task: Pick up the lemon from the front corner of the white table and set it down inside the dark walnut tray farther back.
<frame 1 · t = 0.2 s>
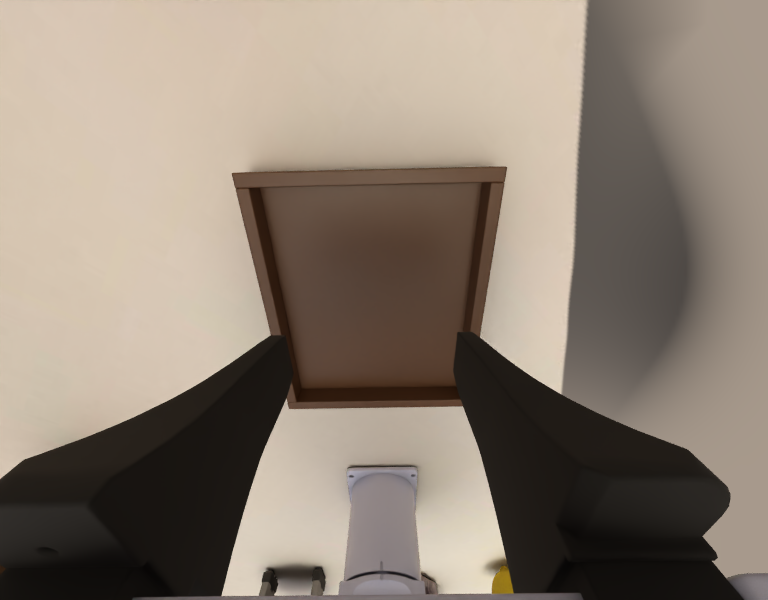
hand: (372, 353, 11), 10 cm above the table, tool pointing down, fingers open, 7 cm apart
crystal cluster: (398, 584, 45), on the table
lemon: (502, 563, 42), on the table
figurine: (299, 577, 44), on the table
tray: (375, 299, 22), on the table
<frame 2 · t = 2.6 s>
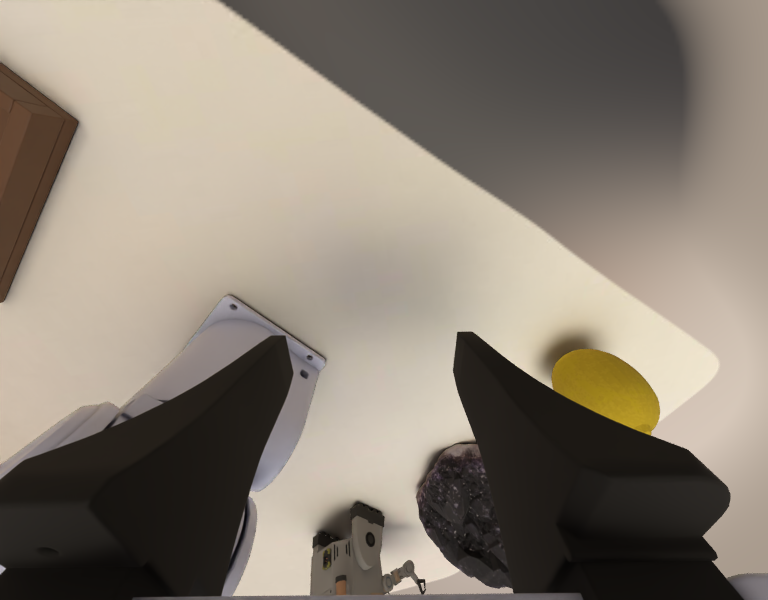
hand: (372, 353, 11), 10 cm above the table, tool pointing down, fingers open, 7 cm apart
crystal cluster: (473, 475, 31), on the table
lemon: (563, 356, 24), on the table
figurine: (362, 526, 35), on the table
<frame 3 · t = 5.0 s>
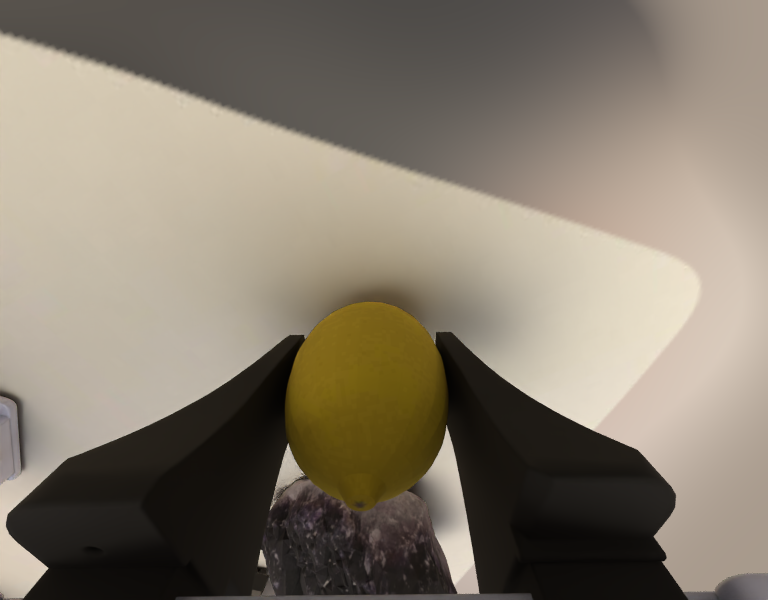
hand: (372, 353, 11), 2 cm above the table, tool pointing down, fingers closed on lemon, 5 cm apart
crystal cluster: (357, 514, 21), on the table
lemon: (373, 323, 14), on the table, touching gripper
figurine: (258, 584, 27), on the table
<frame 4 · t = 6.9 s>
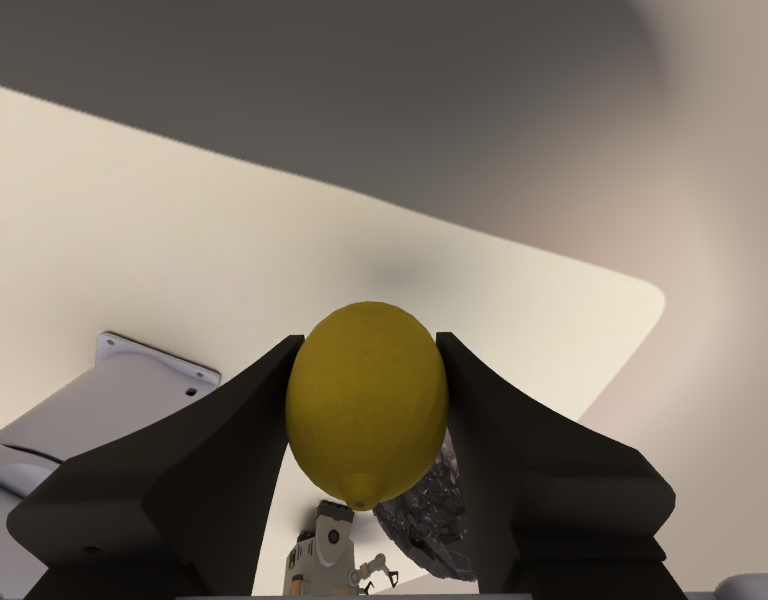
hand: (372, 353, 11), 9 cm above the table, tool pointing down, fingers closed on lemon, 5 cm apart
crystal cluster: (427, 461, 29), on the table
lemon: (373, 323, 14), point 7 cm above the table, touching gripper
figurine: (341, 523, 35), on the table
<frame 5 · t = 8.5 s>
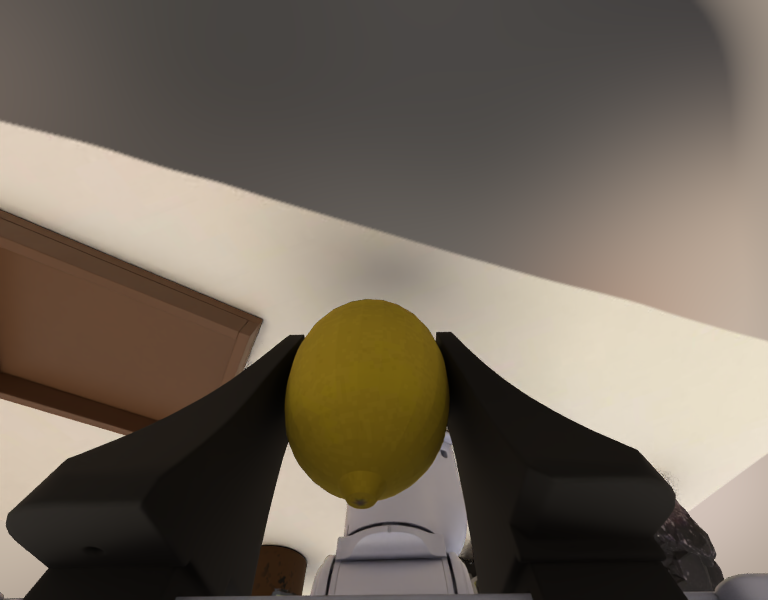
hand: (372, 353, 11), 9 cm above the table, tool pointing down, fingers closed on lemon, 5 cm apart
crystal cluster: (598, 500, 33), on the table
olive oil: (276, 559, 40), on the table
lemon: (373, 321, 14), point 7 cm above the table, touching gripper
tray: (127, 345, 23), on the table
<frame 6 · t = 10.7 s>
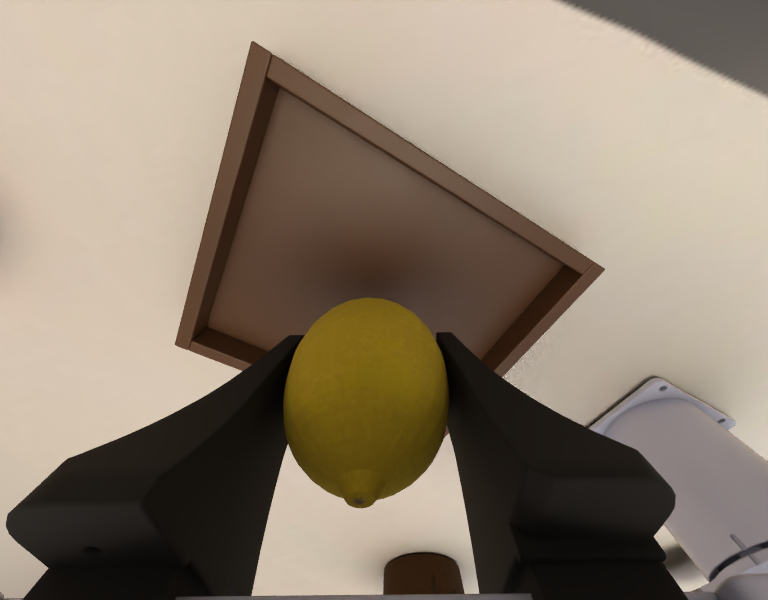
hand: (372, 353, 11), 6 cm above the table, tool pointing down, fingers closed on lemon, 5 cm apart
olive oil: (421, 568, 34), on the table
lemon: (372, 320, 14), point 4 cm above the table, touching gripper
tray: (376, 292, 17), on the table
when the fingers open (3 cm above the table, at t = 12.3 s): lemon stays where it is, resting on tray.
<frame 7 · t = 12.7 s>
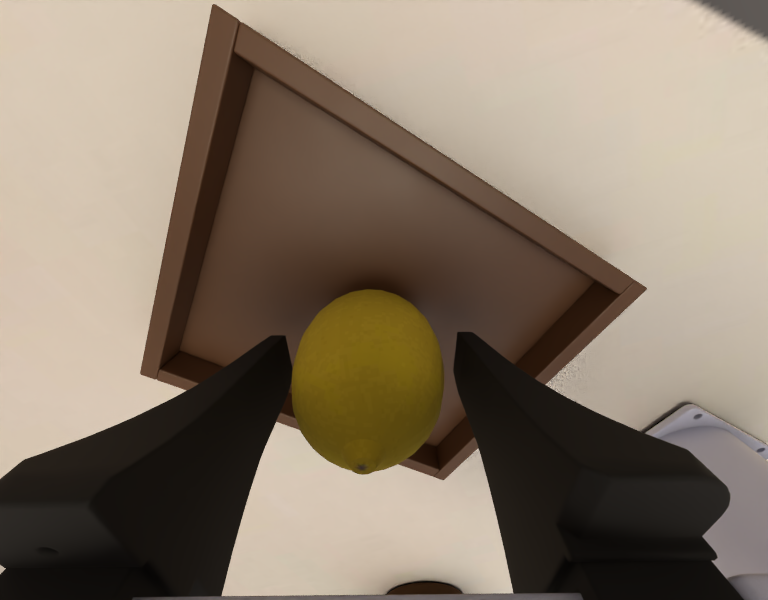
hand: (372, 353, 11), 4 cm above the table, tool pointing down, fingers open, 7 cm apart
olive oil: (424, 596, 32), on the table
lemon: (373, 313, 14), point 1 cm above the table, touching tray
tray: (374, 310, 15), on the table
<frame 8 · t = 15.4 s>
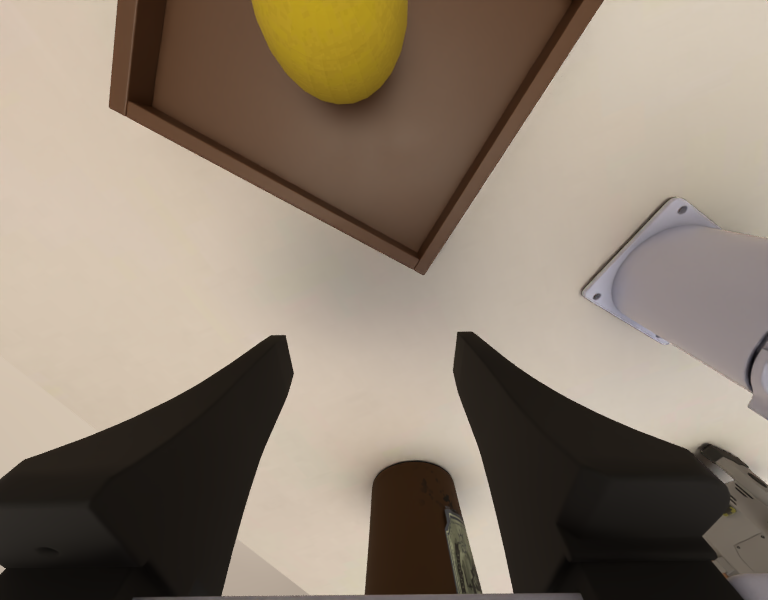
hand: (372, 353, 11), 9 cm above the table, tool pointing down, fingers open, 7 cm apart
olive oil: (413, 484, 32), on the table
lemon: (347, 54, 14), point 1 cm above the table, touching tray
figurine: (694, 474, 31), on the table
tray: (350, 63, 15), on the table
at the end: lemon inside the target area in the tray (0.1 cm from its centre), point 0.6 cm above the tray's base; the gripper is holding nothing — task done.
